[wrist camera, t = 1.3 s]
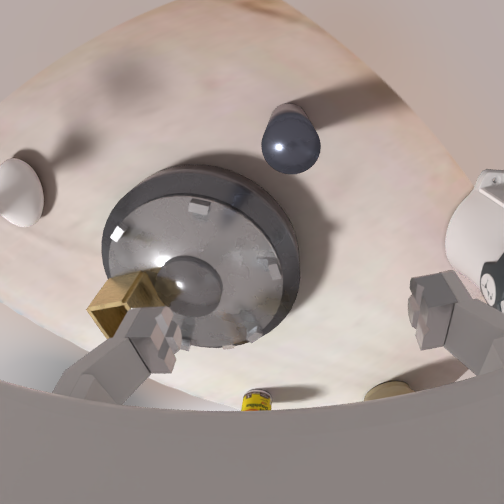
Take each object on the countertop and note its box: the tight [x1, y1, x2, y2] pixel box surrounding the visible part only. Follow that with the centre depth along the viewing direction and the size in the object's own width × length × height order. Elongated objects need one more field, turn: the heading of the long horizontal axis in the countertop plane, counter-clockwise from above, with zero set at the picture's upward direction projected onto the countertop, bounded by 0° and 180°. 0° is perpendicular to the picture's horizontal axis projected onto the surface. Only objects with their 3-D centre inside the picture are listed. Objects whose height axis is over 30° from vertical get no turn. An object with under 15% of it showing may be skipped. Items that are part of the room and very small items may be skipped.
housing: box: [102, 165, 300, 349], centre depth 41 cm, size 26×26×4 cm
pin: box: [262, 103, 321, 174], centre depth 27 cm, size 4×4×14 cm
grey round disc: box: [86, 193, 283, 351], centre depth 36 cm, size 22×22×7 cm
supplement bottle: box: [241, 390, 272, 411], centre depth 54 cm, size 6×6×10 cm
